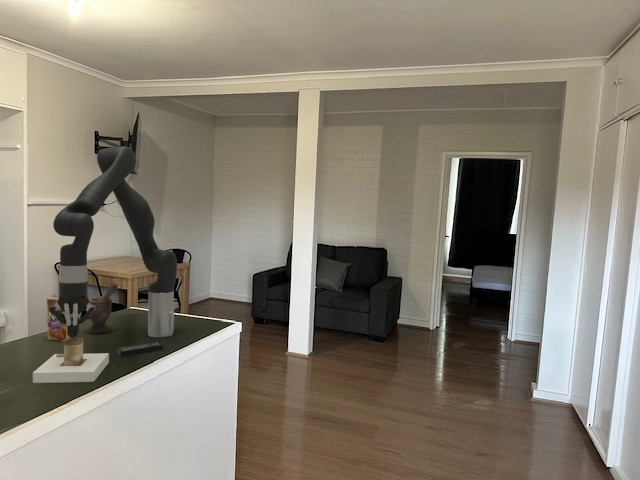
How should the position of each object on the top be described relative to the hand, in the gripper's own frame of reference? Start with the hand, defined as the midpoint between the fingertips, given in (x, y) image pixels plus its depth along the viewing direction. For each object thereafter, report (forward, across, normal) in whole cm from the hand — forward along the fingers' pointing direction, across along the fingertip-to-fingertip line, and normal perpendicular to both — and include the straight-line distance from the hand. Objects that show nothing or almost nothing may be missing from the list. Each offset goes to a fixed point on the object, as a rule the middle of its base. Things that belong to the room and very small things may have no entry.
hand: (73, 336), depth 139 cm
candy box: (+11, +15, -33) cm, 38 cm away
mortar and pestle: (+11, +3, -43) cm, 44 cm away
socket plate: (+11, 0, 0) cm, 11 cm away
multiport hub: (+11, -16, -19) cm, 27 cm away
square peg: (+11, 0, 0) cm, 11 cm away
